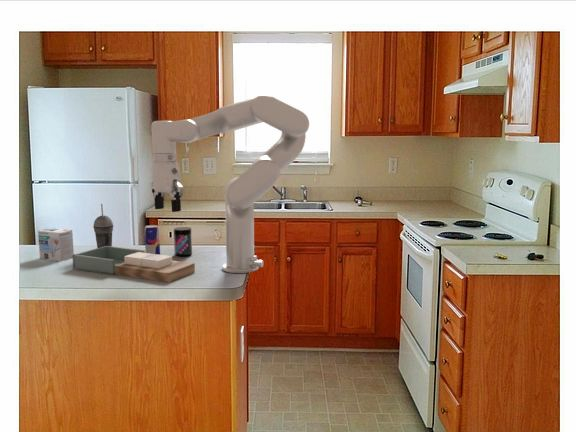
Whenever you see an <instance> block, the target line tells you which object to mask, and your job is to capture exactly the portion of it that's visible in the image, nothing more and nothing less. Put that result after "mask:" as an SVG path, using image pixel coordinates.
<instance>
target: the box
mask: <svg viewBox="0 0 576 432" xmlns="http://www.w3.org/2000/svg"><path fill="white" fill-rule="evenodd" d="M137 252H142V253H145V250H144V249H135V248H128V247H118V246H113V245H112V246H104V247H100V248H97V247H96V248H93V249H90V250H86V251H82V252H78V253H74V255H72V256H73V258H72V267H73V270H78V271H83V272H84V271H85V272H91V273H98V274H104V275H111V276H114V275H116V274H115V265H118V264H122V263H125V261H124V256H127V255H130V254H134V253H137Z"/></svg>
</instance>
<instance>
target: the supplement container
mask: <svg viewBox="0 0 576 432" xmlns="http://www.w3.org/2000/svg"><path fill="white" fill-rule="evenodd" d="M173 251H174V252H173V253H174V256H175V257H177V258H186V257H191V256H192V254H193V237H192V227H188V226H179V227H174V228H173Z"/></svg>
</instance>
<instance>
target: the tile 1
mask: <svg viewBox="0 0 576 432" xmlns="http://www.w3.org/2000/svg"><path fill="white" fill-rule="evenodd" d="M152 255H155V254H150V253H142V252H137V253H134V254H130V255H127V256H124V261H125V264H131V265H139V266H142V258H145V257H149V256H152Z"/></svg>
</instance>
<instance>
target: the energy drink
mask: <svg viewBox="0 0 576 432" xmlns="http://www.w3.org/2000/svg"><path fill="white" fill-rule="evenodd" d="M160 238H161V237H160V227H159V225H158V224H156V225H155V224H150V225H149V224H148V225H145V226H144V246H145V247H144V248H145V253H150V254H158V255H161V240H160Z"/></svg>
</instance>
